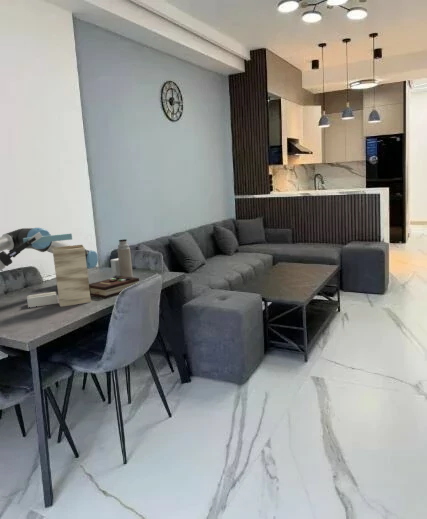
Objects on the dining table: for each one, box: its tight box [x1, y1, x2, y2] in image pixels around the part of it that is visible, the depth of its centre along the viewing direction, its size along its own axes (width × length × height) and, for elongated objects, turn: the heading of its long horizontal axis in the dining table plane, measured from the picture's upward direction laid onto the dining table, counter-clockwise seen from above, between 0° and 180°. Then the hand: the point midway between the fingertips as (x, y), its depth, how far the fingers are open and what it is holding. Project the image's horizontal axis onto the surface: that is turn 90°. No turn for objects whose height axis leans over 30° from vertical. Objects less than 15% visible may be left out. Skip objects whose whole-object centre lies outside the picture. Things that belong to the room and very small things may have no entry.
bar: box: [23, 233, 73, 243], centre depth 232 cm, size 3×24×3 cm, turn 112°
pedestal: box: [52, 244, 92, 307], centre depth 239 cm, size 10×16×31 cm, turn 111°
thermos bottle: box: [117, 238, 134, 278], centre depth 283 cm, size 8×8×28 cm
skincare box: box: [110, 257, 120, 277], centre depth 291 cm, size 8×6×15 cm
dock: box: [26, 291, 58, 309], centre depth 243 cm, size 8×15×5 cm, turn 111°
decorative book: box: [89, 275, 140, 299], centre depth 261 cm, size 19×8×30 cm
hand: (40, 234), depth 230 cm, fingers closed on bar, 3 cm apart
